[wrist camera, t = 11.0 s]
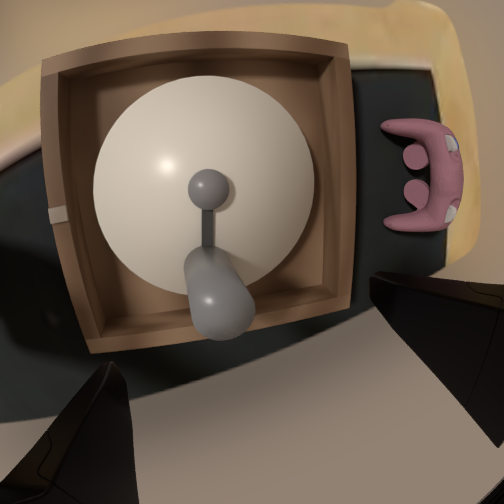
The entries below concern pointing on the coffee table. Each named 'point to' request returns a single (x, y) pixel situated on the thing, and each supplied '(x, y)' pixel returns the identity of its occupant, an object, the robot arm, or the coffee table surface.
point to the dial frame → (143, 81)
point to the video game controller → (441, 173)
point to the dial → (205, 194)
